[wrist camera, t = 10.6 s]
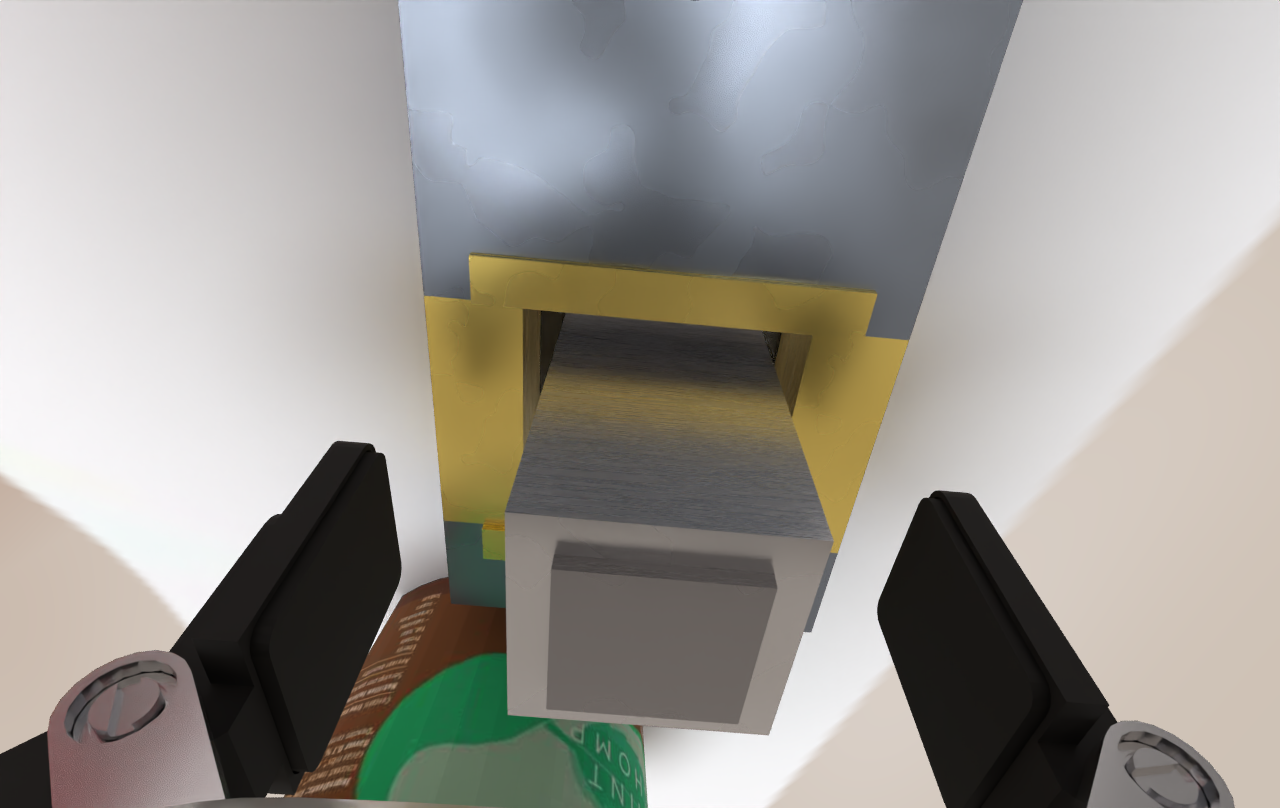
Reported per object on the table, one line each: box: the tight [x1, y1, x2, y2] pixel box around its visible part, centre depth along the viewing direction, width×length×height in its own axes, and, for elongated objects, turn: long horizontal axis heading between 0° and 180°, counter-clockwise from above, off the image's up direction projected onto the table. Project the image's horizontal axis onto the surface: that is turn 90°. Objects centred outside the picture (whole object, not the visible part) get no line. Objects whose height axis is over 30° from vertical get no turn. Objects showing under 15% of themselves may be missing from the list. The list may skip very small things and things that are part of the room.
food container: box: [284, 577, 648, 808], centre depth 18 cm, size 12×6×10 cm, turn 39°
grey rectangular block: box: [505, 313, 834, 735], centre depth 13 cm, size 5×5×8 cm
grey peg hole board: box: [398, 0, 1023, 632], centre depth 12 cm, size 28×10×3 cm, turn 175°
